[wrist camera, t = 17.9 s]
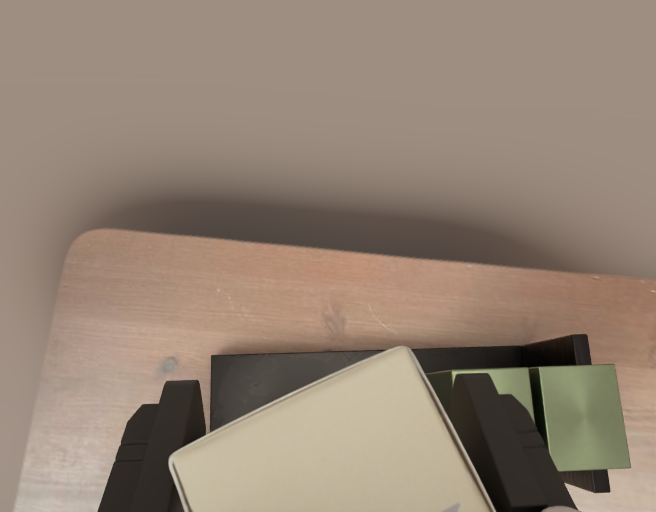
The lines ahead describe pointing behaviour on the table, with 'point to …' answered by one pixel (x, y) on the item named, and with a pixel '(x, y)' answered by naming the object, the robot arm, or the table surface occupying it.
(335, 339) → the table surface
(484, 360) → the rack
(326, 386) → the box
